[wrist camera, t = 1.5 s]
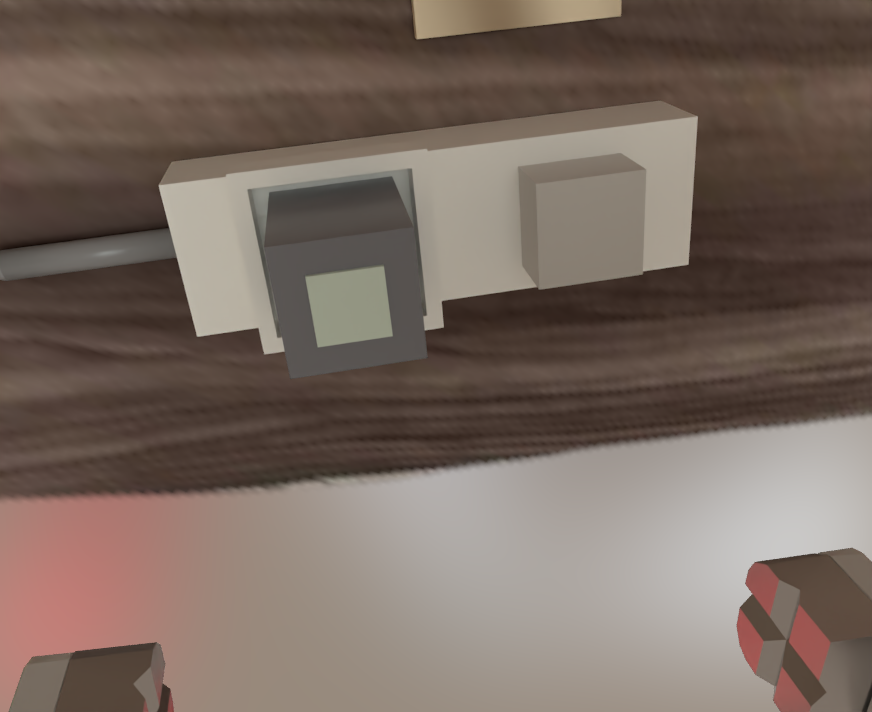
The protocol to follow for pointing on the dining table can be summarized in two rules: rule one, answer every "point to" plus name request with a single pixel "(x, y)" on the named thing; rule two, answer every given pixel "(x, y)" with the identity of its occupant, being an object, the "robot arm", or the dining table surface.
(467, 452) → the dining table surface
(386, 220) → the block
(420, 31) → the coaster
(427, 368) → the dining table surface
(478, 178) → the power strip
